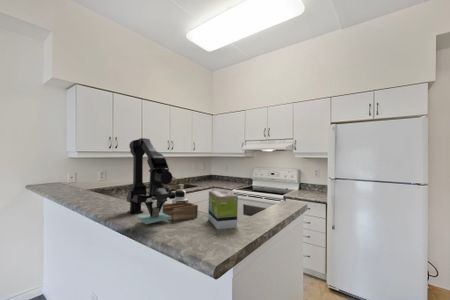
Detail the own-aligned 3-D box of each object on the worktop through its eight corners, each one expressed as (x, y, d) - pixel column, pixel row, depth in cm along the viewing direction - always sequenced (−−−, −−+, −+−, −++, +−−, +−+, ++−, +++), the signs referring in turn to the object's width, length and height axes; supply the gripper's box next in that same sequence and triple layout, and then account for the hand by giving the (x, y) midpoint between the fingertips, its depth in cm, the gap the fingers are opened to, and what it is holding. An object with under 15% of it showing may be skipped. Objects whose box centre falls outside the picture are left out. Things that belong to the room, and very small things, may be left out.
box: (162, 217, 105) (162, 204, 105) (185, 212, 114) (185, 201, 115) (173, 222, 97) (174, 208, 97) (197, 217, 107) (197, 205, 107)
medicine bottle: (175, 213, 112) (176, 191, 113) (171, 210, 118) (172, 190, 119) (187, 212, 116) (188, 191, 117) (183, 209, 122) (183, 189, 123)
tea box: (207, 220, 103) (208, 190, 104) (225, 218, 106) (226, 190, 107) (216, 230, 89) (217, 195, 89) (237, 227, 92) (238, 195, 93)
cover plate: (137, 219, 95) (138, 207, 95) (161, 214, 103) (162, 204, 104) (145, 224, 89) (146, 211, 89) (170, 219, 97) (171, 207, 97)
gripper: (143, 185, 85) (141, 223, 84) (182, 182, 98) (180, 215, 97) (133, 182, 93) (131, 217, 92) (170, 180, 106) (169, 210, 105)
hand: (154, 215), depth 96 cm, fingers closed on cover plate, 3 cm apart
